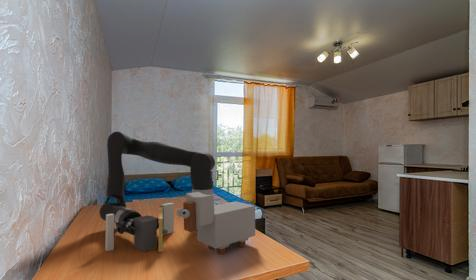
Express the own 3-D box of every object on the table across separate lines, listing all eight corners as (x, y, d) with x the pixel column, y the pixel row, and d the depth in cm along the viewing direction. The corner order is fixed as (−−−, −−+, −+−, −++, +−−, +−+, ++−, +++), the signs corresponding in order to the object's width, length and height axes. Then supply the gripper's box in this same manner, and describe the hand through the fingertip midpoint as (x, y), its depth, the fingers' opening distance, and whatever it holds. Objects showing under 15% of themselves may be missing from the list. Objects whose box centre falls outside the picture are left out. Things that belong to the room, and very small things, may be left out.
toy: (170, 257, 78) (171, 194, 78) (236, 237, 96) (235, 186, 97) (188, 270, 70) (188, 199, 70) (255, 244, 88) (255, 189, 89)
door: (159, 235, 97) (159, 207, 98) (166, 234, 98) (167, 207, 99) (158, 252, 81) (158, 218, 82) (167, 251, 82) (168, 218, 82)
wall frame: (171, 231, 103) (171, 202, 104) (173, 232, 102) (174, 203, 102) (105, 249, 84) (105, 214, 84) (107, 251, 83) (108, 215, 83)
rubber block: (147, 242, 91) (147, 215, 91) (156, 247, 86) (156, 218, 86) (134, 246, 87) (134, 218, 87) (142, 251, 82) (143, 221, 83)
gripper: (108, 212, 91) (125, 222, 79) (145, 206, 101) (165, 214, 90) (108, 233, 91) (125, 245, 79) (145, 224, 101) (165, 234, 89)
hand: (146, 229), depth 84 cm, fingers open, 8 cm apart
